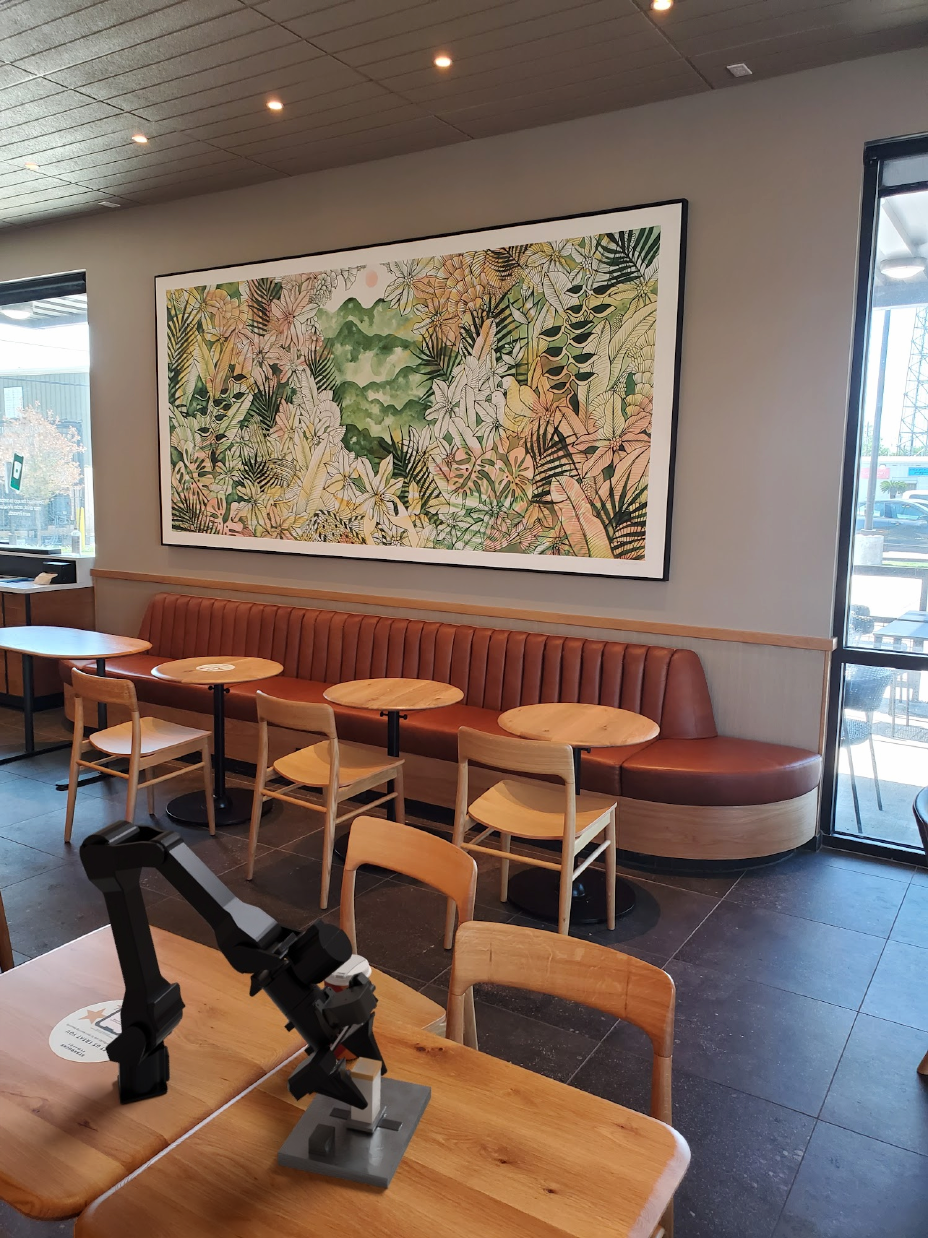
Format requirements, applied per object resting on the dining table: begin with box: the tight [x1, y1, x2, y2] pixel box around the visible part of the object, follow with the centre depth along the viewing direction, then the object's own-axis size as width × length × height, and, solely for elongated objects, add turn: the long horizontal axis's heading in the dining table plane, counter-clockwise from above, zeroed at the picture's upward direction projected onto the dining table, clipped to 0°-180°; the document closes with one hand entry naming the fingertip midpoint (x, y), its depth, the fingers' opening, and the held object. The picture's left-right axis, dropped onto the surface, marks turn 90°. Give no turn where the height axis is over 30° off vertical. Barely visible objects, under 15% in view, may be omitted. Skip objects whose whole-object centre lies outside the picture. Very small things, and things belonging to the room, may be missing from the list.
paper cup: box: [323, 953, 372, 1061], centre depth 137 cm, size 8×8×14 cm
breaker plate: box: [277, 1068, 432, 1189], centre depth 120 cm, size 15×18×4 cm
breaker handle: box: [345, 1057, 386, 1133], centre depth 119 cm, size 4×5×8 cm
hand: (375, 1090), depth 118 cm, fingers open, 7 cm apart
